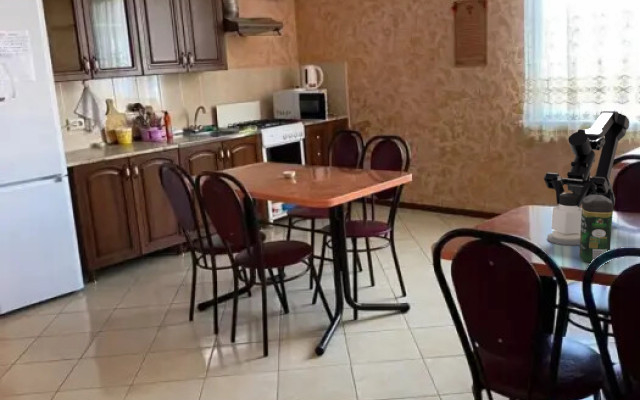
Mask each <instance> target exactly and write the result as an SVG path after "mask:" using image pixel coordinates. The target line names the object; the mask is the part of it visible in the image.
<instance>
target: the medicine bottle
mask: <svg viewBox="0 0 640 400" xmlns="http://www.w3.org/2000/svg"><path fill="white" fill-rule="evenodd" d="M578 199H579V195H578V194H575V193H573V192H563V193H562V194H561V195H560V197H559V205H558V206H555V207H552V212H551V213H552V214H551V229H552V230H553V231H554V230H556V231H558V232H560V233H563V234H573V233H580V232H581V214H582V208H580V207H578V206H577V203H578Z"/></svg>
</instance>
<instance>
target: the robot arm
mask: <svg viewBox="0 0 640 400" xmlns="http://www.w3.org/2000/svg"><path fill="white" fill-rule="evenodd" d="M629 127H630V119H629V118H628V116H626V115H624V114H622V113H619V112H618V110H617V111H616V110H613V109H610V110H609V109H608V110H607V109H606V110H605V109H604V110H601V111H600V114H599V116H598V118H596V121H595V122H594V123H593V125H592V126H591V127H590V128H587V129H585V128H584V129H581V128H580V129H577V131H575V132H573V133H571V135H570V136H569V137H568V140H567V141H568V144H569V146H570V149H571V153H572V155H574V158H573V161H570V162H571V163H570V165H571V167H570V170H569V171H567V173H566V176H567V177H562V176H561V175H560V174H559V173H557V172H546V173H545V174H544V177H543V180H544V183H545V185H546V187H547V188H548V189H550V190H554V191H555V196H556V197H555V198H556V199H555V200H556V205H558V206H559V197H560V195H561V194H563V193H565V188H564V185H565V186H567V190H568V191H570V193H575V194H578V195H579V199H578V203H577V206H578V207H579V208H580V207H582V203H583V199H584V198H585V197H587V196H588V195H604V196H605V197H607V198H609V199H610V200H611V201H612V203H613V207H614V206H615V203H616V197H615V194H614V191H613V185H612V182H611V180H610V177H611V173H612V169H613V165H614V162H615V157H616V154H617V148H618V144H619V142H620V141H621V140H622V139H623V138H624V137H625V136H626V133H627V131H628V129H629ZM600 150H601V151H600ZM595 151H598V152H599V151H600V156H599V158H598V159H599V160H598V164H597V167H596V171H595V175H594V176H591V170H592V166H593V163H595V162H596V153H595Z"/></svg>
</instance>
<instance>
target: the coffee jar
mask: <svg viewBox="0 0 640 400" xmlns="http://www.w3.org/2000/svg"><path fill="white" fill-rule="evenodd" d="M581 209H582V214H581V232H580V245H579V258H580V259H581V260H582V261H583V262H586V263H590V262H591V261H592V260H593V259H595V258H596V257H597V256H599V255H600V254H602V253H604V252H606V251H608V250H610V251H611V242H612V227H613V226H612V225H613V215H614V214H613V213H614V206H613V203H612V201H611V200H610V199H609V198H607V197H605V196H604V195H588V196H587V197H585V198H584V199H583V203H582V204H581Z"/></svg>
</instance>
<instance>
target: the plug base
mask: <svg viewBox="0 0 640 400" xmlns="http://www.w3.org/2000/svg"><path fill="white" fill-rule="evenodd" d="M546 240H547V241H548V242H550V243H552V244H556V245H559V246H568V247H570V246H573V247H575V246H578V247H579V246H580V233H573V234H563V233H560V232H558V231H556V230H553V231H552V233H549V234H547V237H546Z"/></svg>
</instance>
